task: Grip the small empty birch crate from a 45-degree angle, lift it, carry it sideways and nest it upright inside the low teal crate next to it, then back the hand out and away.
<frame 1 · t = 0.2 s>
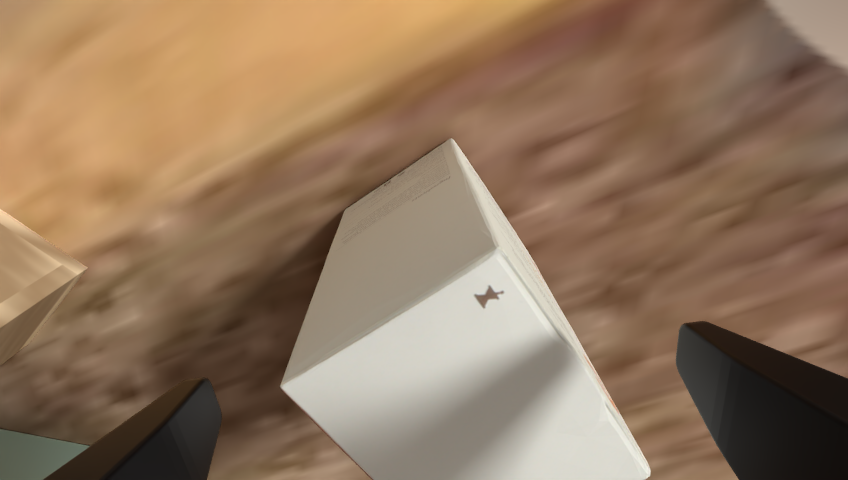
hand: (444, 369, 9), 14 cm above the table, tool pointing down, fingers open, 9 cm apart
birch crate: (1, 270, 24), on the table
small box: (441, 236, 24), on the table
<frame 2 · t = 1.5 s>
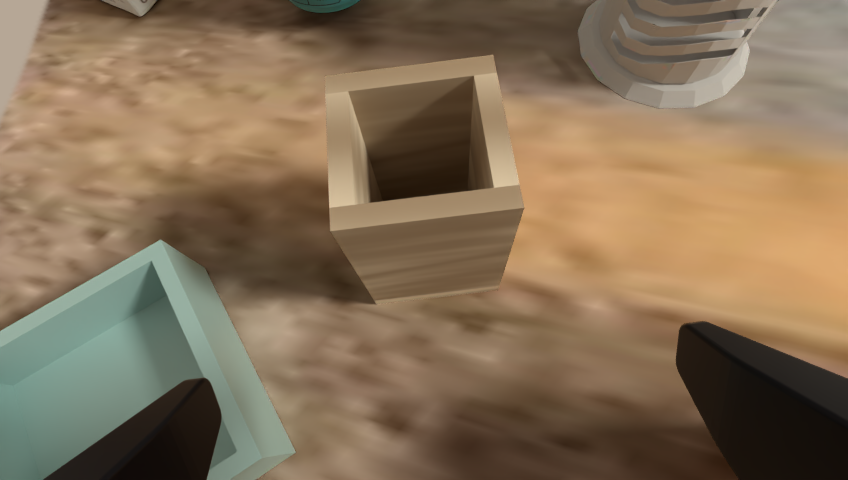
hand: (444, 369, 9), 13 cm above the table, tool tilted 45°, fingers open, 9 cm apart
birch crate: (430, 241, 25), on the table
french press: (676, 44, 28), on the table
teal crate: (146, 416, 22), on the table
beverage bottle: (334, 0, 31), on the table
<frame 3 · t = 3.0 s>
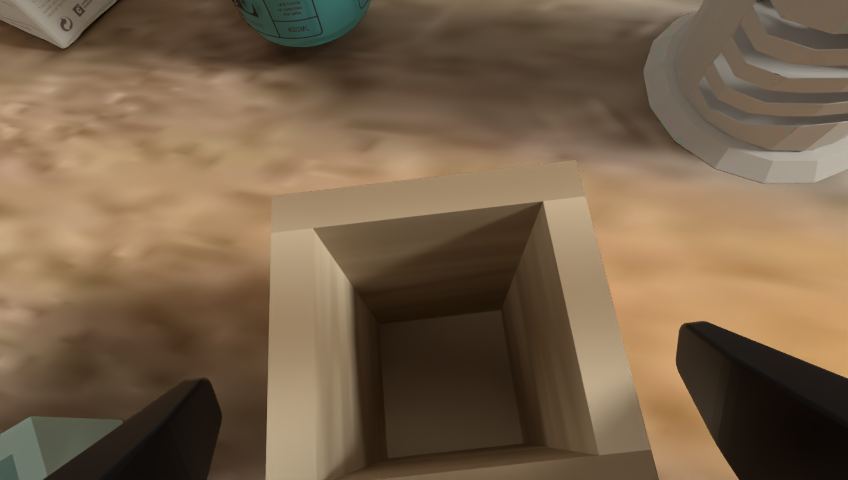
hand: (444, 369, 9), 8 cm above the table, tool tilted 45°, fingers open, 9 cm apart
birch crate: (447, 383, 17), on the table
french press: (778, 91, 21), on the table
beverage bottle: (317, 27, 24), on the table
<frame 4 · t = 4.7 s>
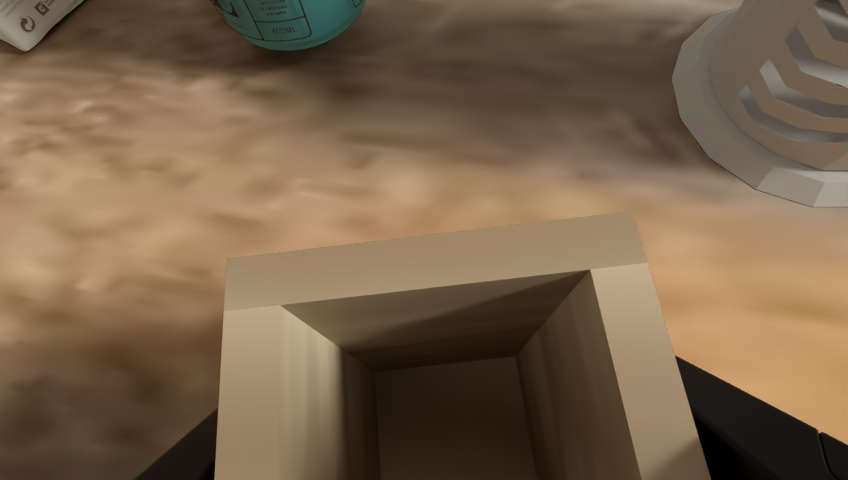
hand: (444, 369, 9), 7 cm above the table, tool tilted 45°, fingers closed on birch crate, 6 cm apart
birch crate: (453, 440, 15), on the table, touching gripper
french press: (824, 101, 19), on the table
beverage bottle: (307, 27, 22), on the table
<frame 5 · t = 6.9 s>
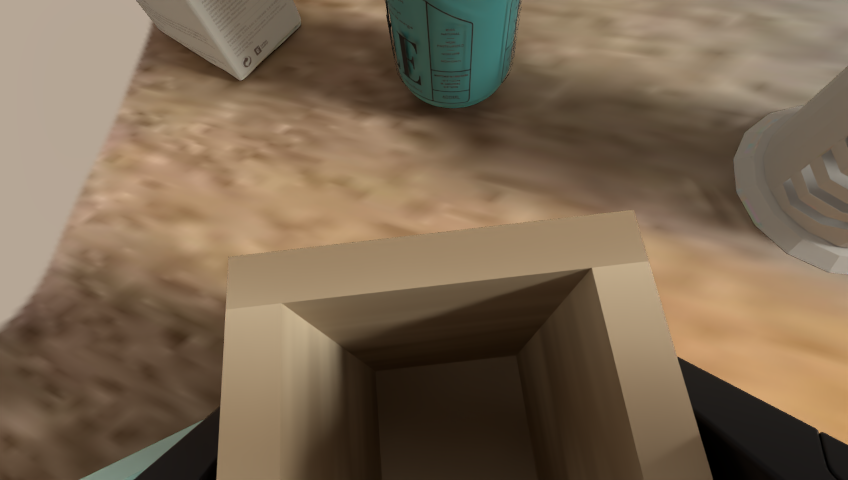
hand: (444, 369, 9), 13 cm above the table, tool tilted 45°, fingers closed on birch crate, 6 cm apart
birch crate: (454, 439, 15), point 7 cm above the table, touching gripper
skincare box: (227, 29, 31), on the table
beverage bottle: (452, 84, 28), on the table
when the fingers open (9 cm above the table, at t = 9.4 s): birch crate drops 1 cm, resting on teal crate.
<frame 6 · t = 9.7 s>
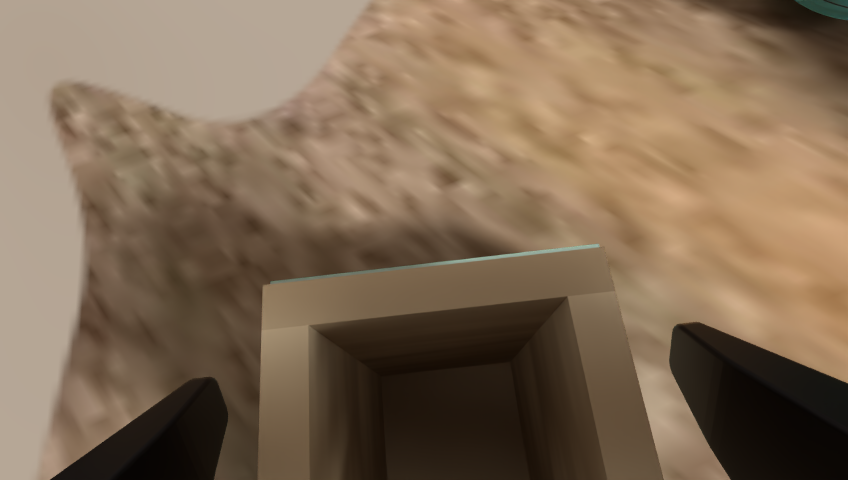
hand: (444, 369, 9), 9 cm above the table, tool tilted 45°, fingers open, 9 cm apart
birch crate: (453, 438, 16), point 1 cm above the table, touching teal crate
teal crate: (453, 438, 17), on the table
beverage bottle: (813, 2, 23), on the table
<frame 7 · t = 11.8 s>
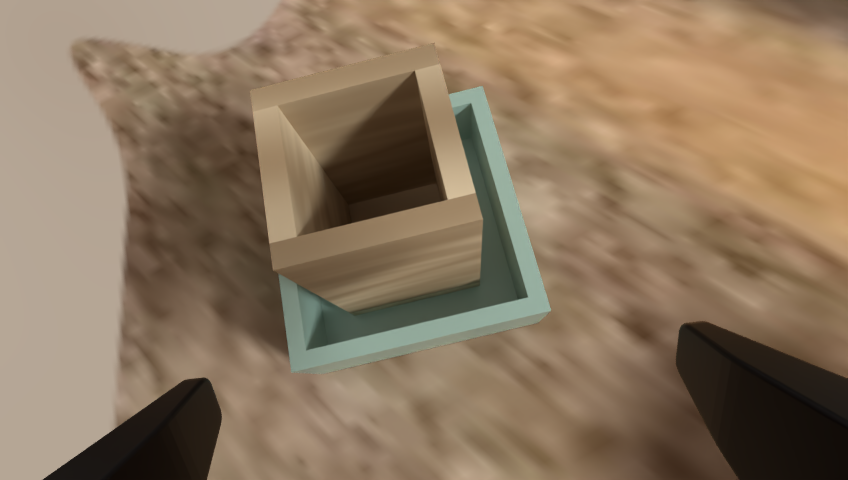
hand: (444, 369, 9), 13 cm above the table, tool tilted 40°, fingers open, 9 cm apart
birch crate: (403, 240, 23), point 1 cm above the table, touching teal crate
teal crate: (406, 245, 24), on the table
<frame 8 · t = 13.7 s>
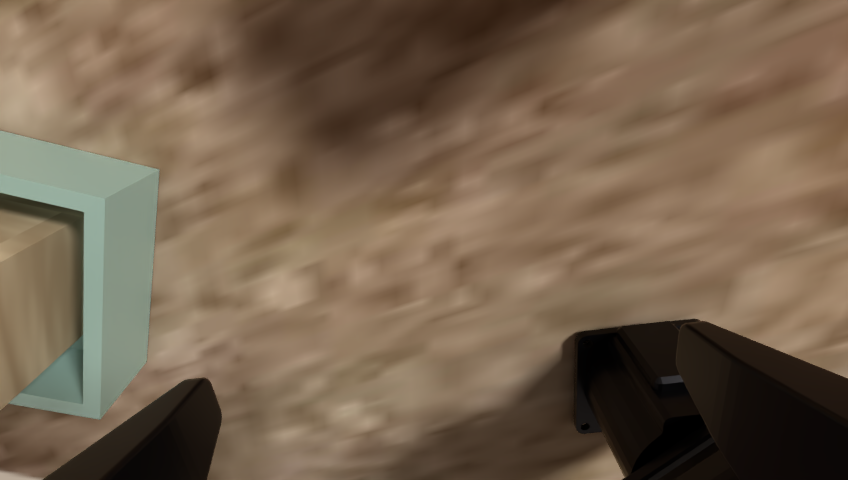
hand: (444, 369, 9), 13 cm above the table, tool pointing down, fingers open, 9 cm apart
birch crate: (21, 256, 21), point 1 cm above the table, touching teal crate
teal crate: (33, 248, 22), on the table
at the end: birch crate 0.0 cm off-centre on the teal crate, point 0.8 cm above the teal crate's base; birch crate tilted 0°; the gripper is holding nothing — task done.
